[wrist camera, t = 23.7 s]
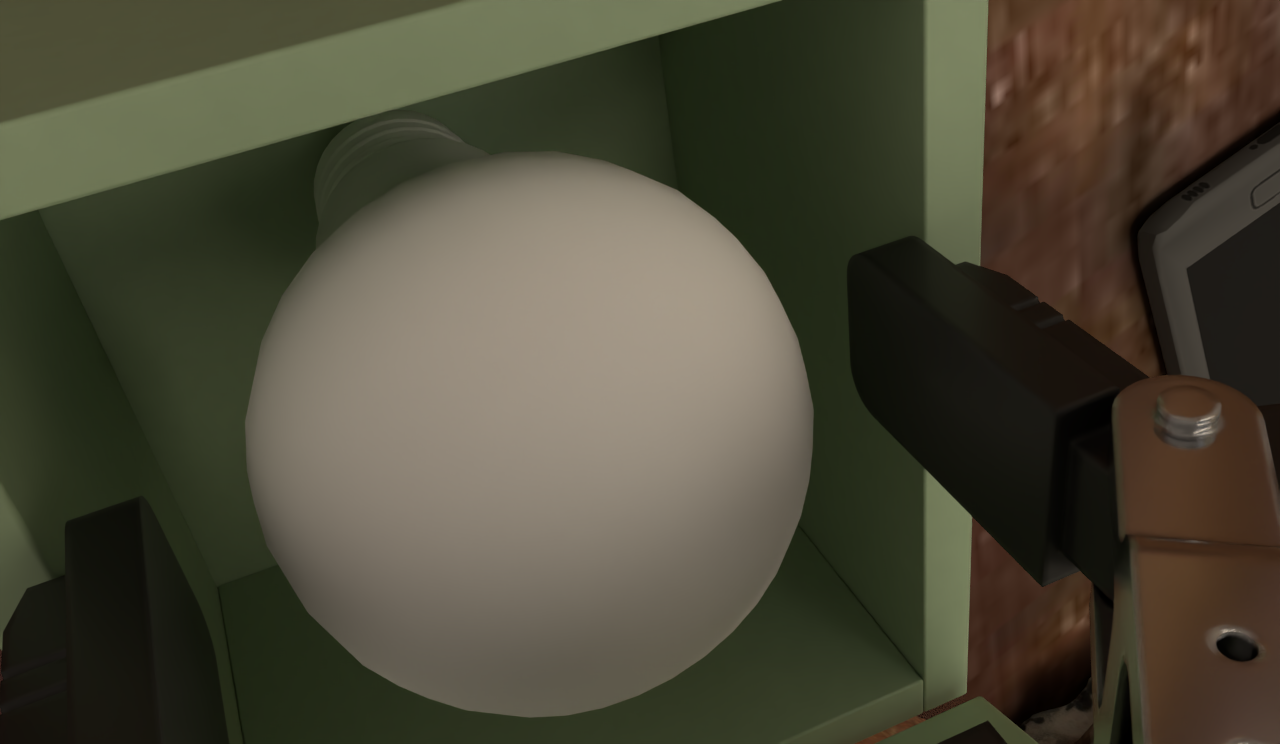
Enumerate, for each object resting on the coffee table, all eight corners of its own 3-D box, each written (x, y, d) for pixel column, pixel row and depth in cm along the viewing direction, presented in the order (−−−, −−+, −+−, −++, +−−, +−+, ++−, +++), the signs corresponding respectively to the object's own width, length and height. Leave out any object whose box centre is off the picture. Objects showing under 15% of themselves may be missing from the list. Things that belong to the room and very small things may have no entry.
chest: (-147, -57, 16) (-294, 200, 9) (652, -236, 19) (994, -138, 12) (185, 603, 23) (239, 1022, 17) (727, 405, 26) (967, 694, 19)
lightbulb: (98, 91, 18) (140, 569, 9) (474, -96, 18) (852, 179, 10) (305, 393, 21) (477, 936, 13) (612, 228, 22) (971, 638, 13)
